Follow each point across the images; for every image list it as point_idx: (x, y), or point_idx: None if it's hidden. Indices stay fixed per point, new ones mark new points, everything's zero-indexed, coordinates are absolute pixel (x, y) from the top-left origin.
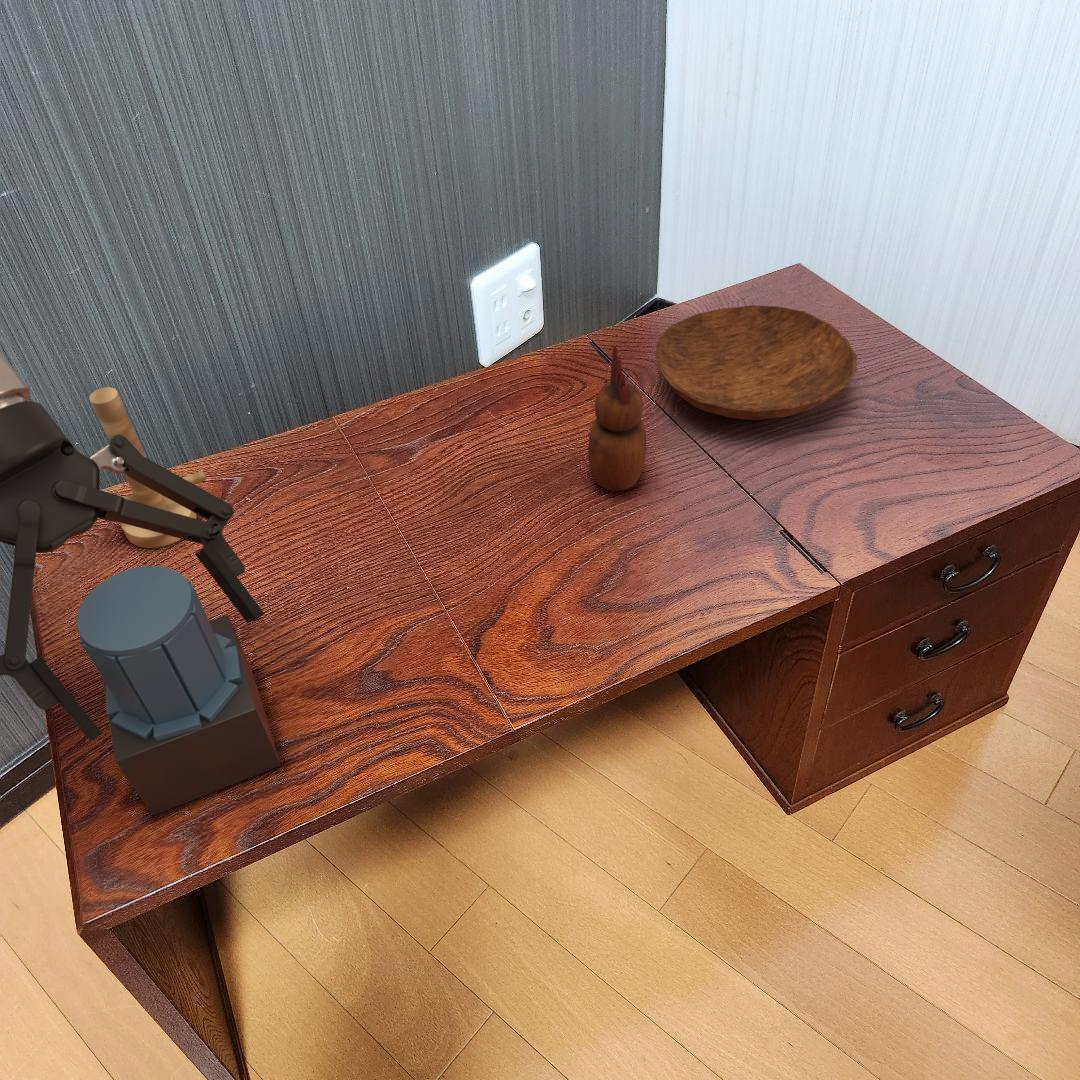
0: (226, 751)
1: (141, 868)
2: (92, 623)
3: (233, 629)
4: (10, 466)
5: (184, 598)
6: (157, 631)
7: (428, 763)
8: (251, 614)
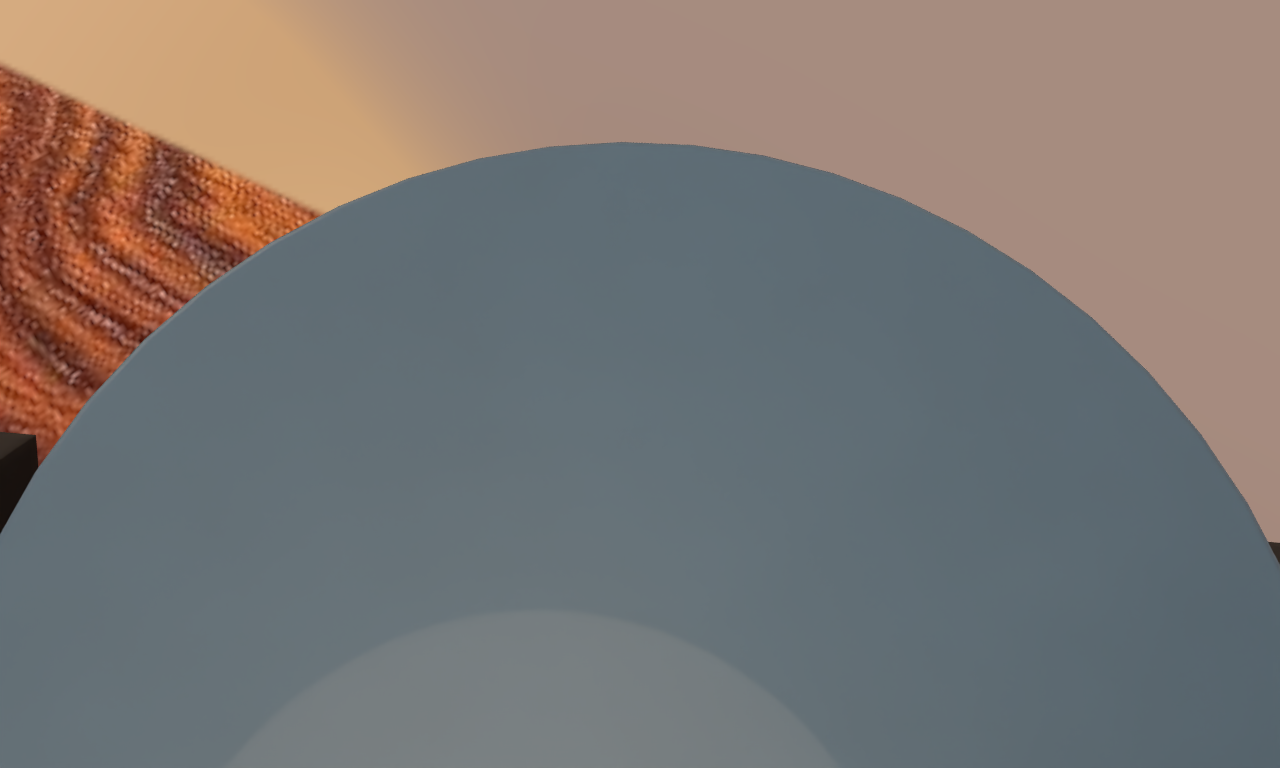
0: None
1: None
2: None
3: None
4: None
5: (255, 324)
6: (720, 216)
7: (231, 175)
8: (10, 473)
